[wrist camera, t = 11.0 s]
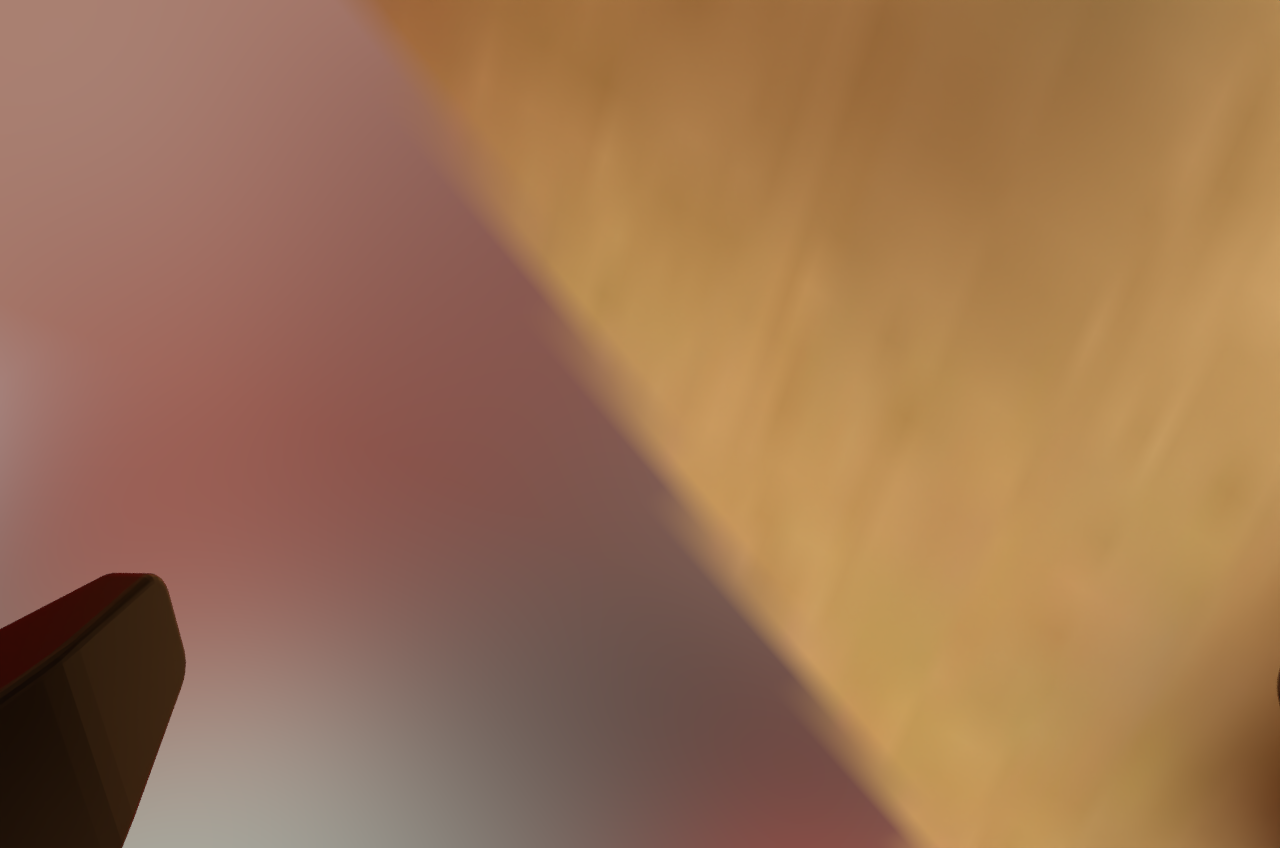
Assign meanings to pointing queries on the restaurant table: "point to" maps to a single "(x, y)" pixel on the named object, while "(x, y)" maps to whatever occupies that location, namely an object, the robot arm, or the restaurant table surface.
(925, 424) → the restaurant table surface
